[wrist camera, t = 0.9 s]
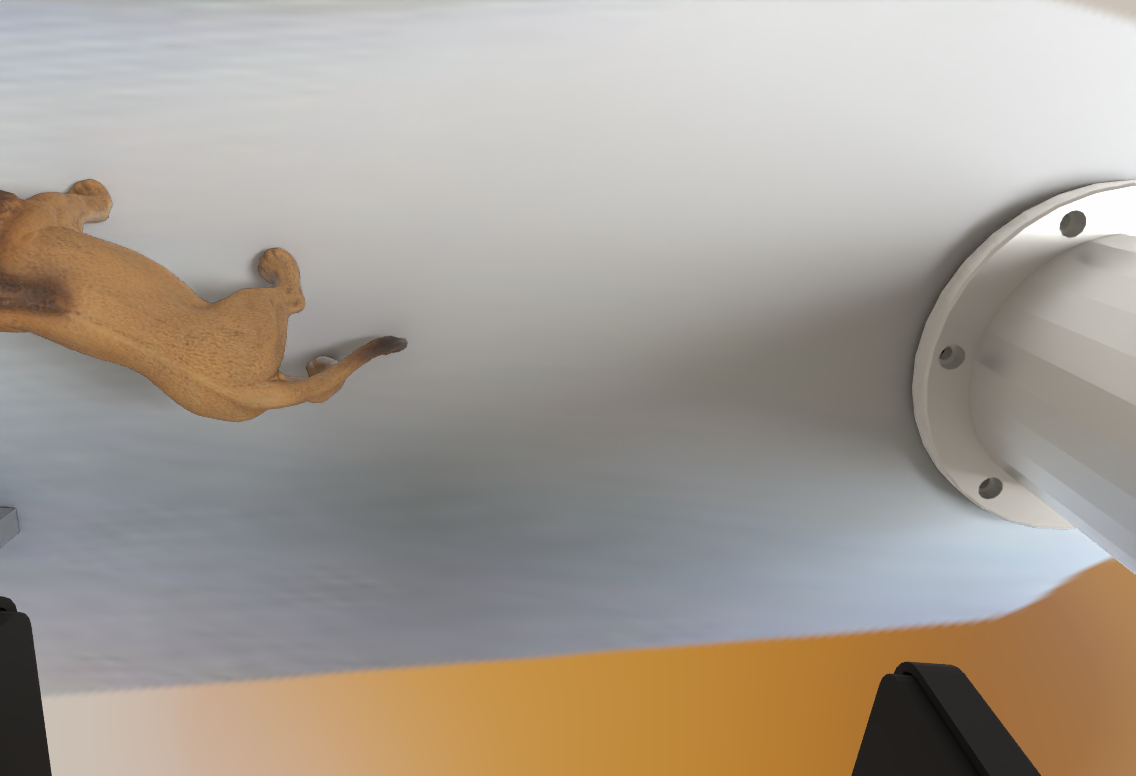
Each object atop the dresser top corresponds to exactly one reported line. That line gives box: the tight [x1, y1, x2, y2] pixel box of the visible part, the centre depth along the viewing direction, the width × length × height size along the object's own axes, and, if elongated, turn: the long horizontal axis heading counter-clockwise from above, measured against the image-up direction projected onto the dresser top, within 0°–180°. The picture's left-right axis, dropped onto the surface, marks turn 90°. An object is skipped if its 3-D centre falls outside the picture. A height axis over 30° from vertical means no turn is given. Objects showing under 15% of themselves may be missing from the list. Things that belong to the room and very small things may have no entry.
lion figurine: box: [0, 179, 407, 422], centre depth 22 cm, size 15×5×9 cm, turn 74°
